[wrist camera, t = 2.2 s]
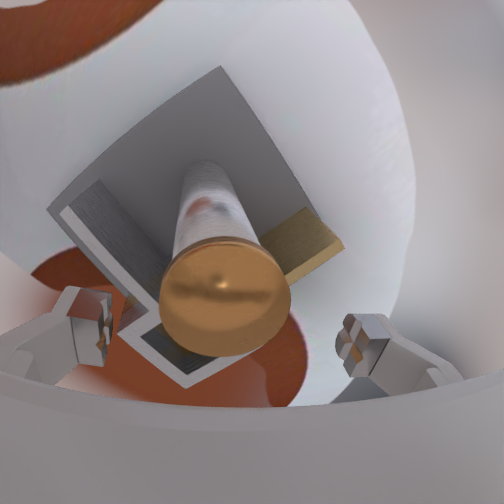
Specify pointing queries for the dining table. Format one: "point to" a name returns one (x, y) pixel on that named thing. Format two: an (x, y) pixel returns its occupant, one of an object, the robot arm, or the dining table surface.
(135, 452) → the robot arm
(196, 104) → the base board
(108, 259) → the hinge
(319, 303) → the dining table surface
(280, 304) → the hinge pin
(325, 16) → the dining table surface
